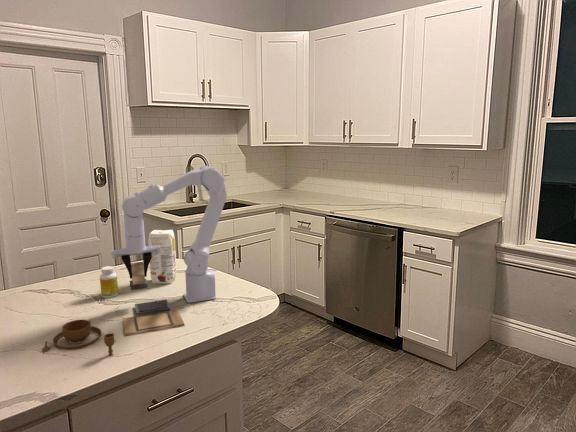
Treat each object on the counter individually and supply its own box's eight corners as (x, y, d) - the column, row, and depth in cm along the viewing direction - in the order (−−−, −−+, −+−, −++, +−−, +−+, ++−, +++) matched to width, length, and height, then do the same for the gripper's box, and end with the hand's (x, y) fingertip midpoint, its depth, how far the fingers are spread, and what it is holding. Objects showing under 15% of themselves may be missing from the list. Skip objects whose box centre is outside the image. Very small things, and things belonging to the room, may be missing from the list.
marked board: (177, 311, 139) (177, 308, 139) (184, 325, 129) (184, 323, 129) (123, 320, 133) (123, 317, 132) (125, 335, 123) (125, 333, 122)
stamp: (146, 282, 145) (144, 260, 143) (147, 287, 140) (146, 265, 139) (129, 285, 143) (128, 262, 141) (131, 290, 138) (129, 267, 137)
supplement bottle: (112, 298, 149) (110, 270, 147) (98, 297, 150) (95, 269, 148) (121, 292, 154) (119, 265, 152) (107, 291, 155) (105, 264, 153)
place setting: (111, 326, 130) (109, 307, 129) (119, 357, 112) (118, 336, 111) (43, 339, 122) (40, 319, 121) (40, 375, 104) (38, 351, 103)
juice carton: (172, 284, 162) (170, 233, 158) (149, 284, 162) (146, 233, 158) (178, 277, 169) (175, 228, 166) (155, 277, 169) (152, 228, 166)
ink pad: (167, 302, 146) (166, 298, 146) (170, 310, 139) (170, 307, 139) (135, 307, 142) (134, 303, 142) (137, 316, 135) (136, 312, 135)
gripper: (157, 230, 144) (160, 270, 147) (109, 234, 139) (113, 275, 142) (160, 234, 138) (163, 276, 141) (110, 239, 133) (113, 283, 135)
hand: (138, 276), depth 141 cm, fingers closed on stamp, 4 cm apart
